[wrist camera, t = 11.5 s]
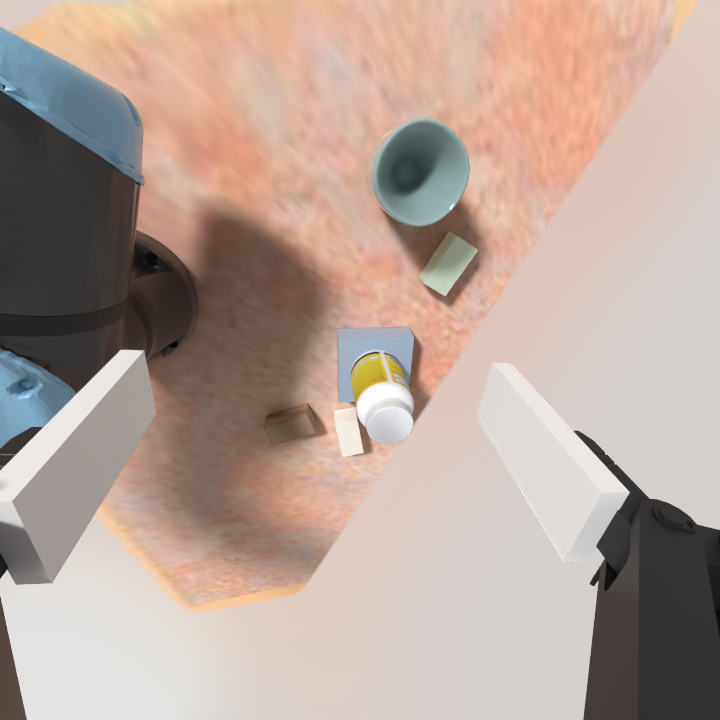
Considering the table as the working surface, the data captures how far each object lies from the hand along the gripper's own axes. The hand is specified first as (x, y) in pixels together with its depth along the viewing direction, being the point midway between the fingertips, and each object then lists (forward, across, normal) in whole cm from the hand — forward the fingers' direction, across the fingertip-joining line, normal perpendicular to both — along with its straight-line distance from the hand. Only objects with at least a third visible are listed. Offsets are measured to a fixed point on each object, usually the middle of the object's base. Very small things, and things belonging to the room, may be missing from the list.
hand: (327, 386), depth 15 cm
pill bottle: (+27, +7, -15) cm, 32 cm away
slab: (+30, +7, -15) cm, 35 cm away
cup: (+30, +8, +7) cm, 32 cm away
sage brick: (+30, +14, -2) cm, 34 cm away
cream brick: (+30, +5, -26) cm, 40 cm away
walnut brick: (+30, -3, -25) cm, 39 cm away
